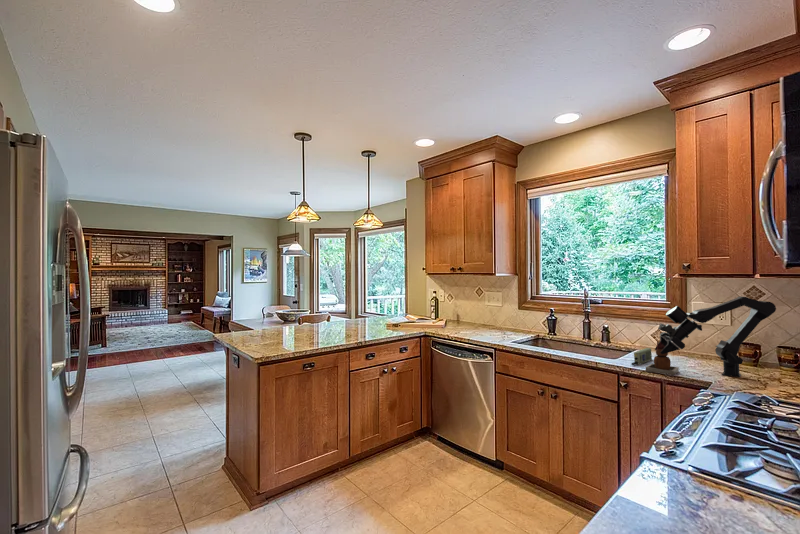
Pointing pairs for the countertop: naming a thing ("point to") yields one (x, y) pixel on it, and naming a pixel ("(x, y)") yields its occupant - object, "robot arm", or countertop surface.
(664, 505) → the countertop surface
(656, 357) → the wooden figurine
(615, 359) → the countertop surface
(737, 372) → the robot arm
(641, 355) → the handheld radio
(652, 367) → the grey shallow tray
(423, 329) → the countertop surface
